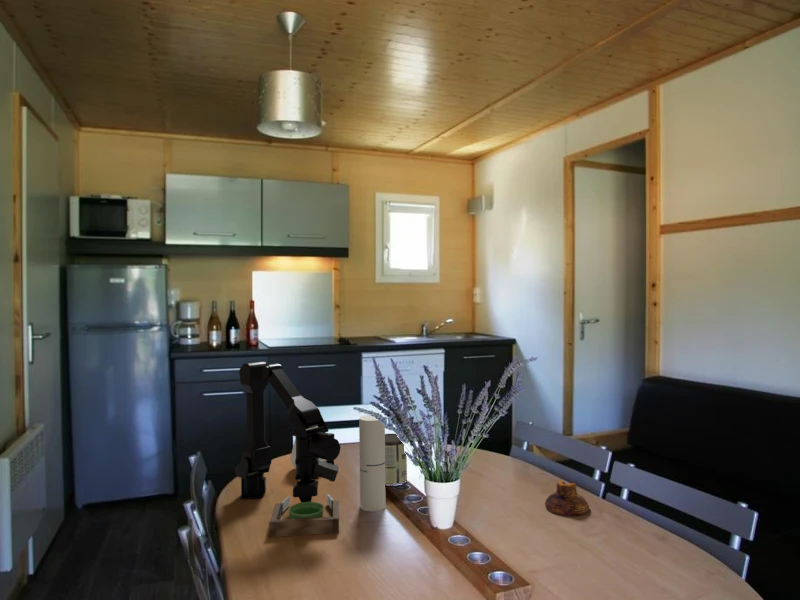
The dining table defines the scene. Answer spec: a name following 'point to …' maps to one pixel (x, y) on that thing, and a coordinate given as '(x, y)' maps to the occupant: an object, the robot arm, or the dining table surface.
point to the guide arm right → (330, 501)
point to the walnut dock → (303, 523)
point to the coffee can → (395, 460)
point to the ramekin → (306, 510)
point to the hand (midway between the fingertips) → (307, 511)
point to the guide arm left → (285, 504)
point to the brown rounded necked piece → (573, 503)
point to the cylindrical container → (372, 464)
